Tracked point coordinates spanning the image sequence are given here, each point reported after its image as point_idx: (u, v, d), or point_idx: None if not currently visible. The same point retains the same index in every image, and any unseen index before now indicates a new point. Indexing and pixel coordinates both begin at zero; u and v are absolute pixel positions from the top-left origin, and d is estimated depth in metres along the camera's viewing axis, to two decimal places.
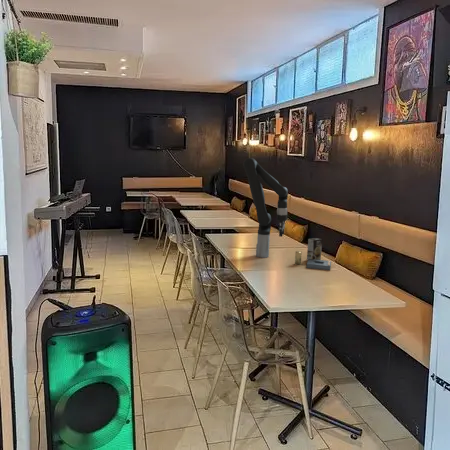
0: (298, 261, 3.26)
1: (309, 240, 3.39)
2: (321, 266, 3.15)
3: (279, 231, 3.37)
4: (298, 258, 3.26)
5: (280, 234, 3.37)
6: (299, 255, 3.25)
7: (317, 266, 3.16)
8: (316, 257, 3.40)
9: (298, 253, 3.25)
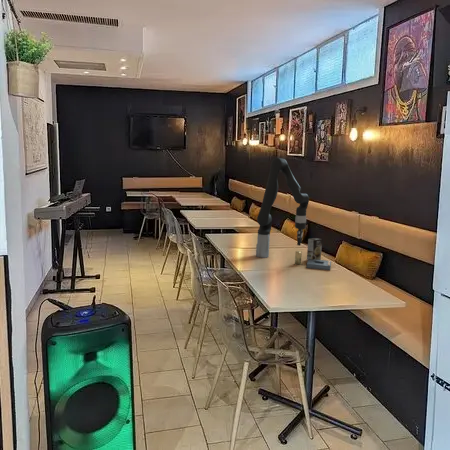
0: (298, 261, 3.26)
1: (309, 240, 3.39)
2: (321, 266, 3.15)
3: None
4: (298, 258, 3.26)
5: (298, 243, 3.21)
6: (299, 255, 3.25)
7: (317, 266, 3.16)
8: (316, 257, 3.40)
9: (298, 253, 3.25)
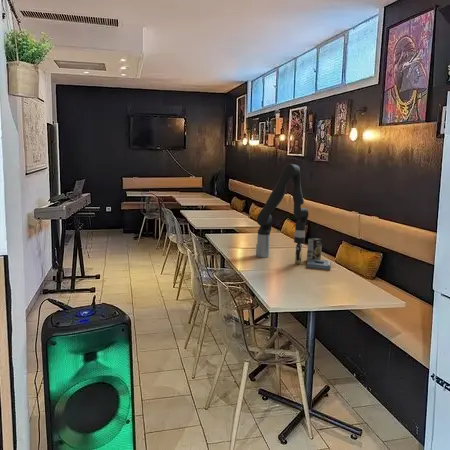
0: (298, 261, 3.26)
1: (309, 240, 3.39)
2: (321, 266, 3.15)
3: None
4: None
5: (297, 258, 3.24)
6: None
7: (317, 266, 3.16)
8: (316, 257, 3.40)
9: None
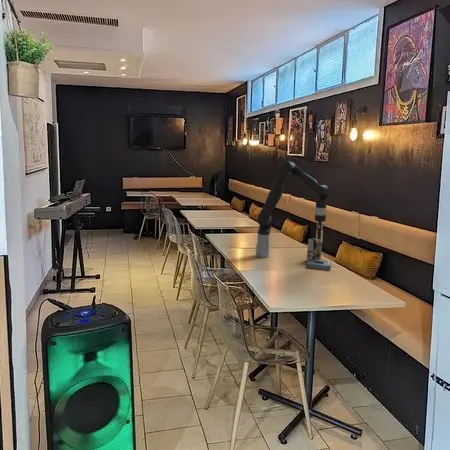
0: (319, 240, 3.19)
1: (309, 240, 3.39)
2: (321, 266, 3.15)
3: None
4: None
5: None
6: None
7: (317, 266, 3.16)
8: (316, 257, 3.40)
9: None
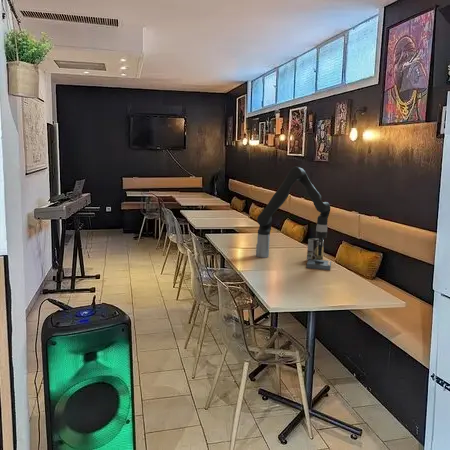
0: (320, 256, 3.20)
1: (309, 240, 3.39)
2: (321, 266, 3.15)
3: None
4: None
5: (319, 253, 3.19)
6: None
7: (317, 266, 3.16)
8: (316, 257, 3.40)
9: None
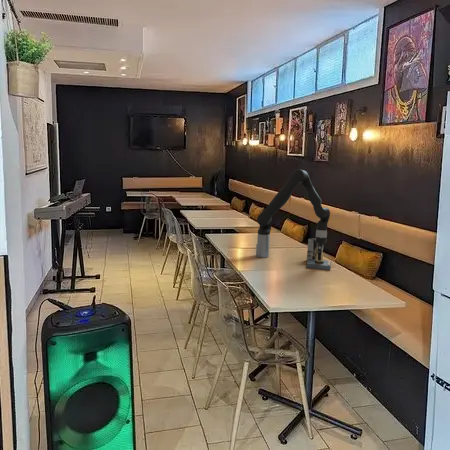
0: None
1: (309, 240, 3.39)
2: (321, 266, 3.15)
3: (318, 254, 3.19)
4: (319, 260, 3.21)
5: (319, 258, 3.18)
6: None
7: (317, 266, 3.16)
8: None
9: None
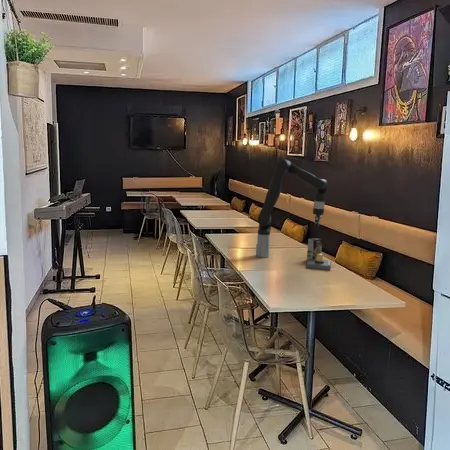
0: None
1: (309, 240, 3.39)
2: (321, 266, 3.15)
3: (315, 225, 3.20)
4: (319, 260, 3.21)
5: (316, 229, 3.19)
6: (320, 257, 3.21)
7: (317, 266, 3.16)
8: None
9: (319, 255, 3.20)
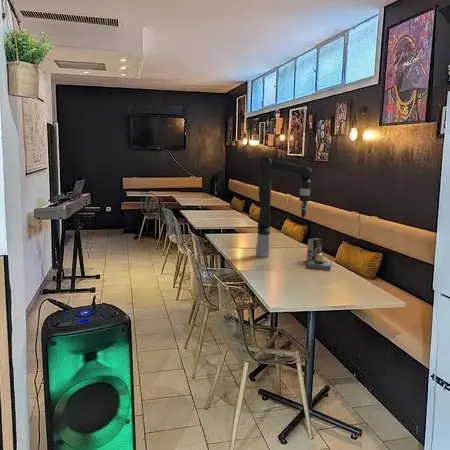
0: None
1: (309, 240, 3.39)
2: (321, 266, 3.15)
3: None
4: (319, 260, 3.21)
5: (302, 215, 3.36)
6: (320, 257, 3.21)
7: (317, 266, 3.16)
8: None
9: (319, 255, 3.20)
